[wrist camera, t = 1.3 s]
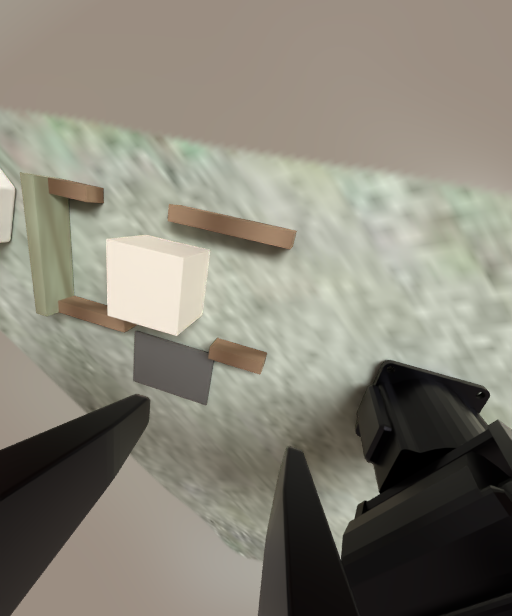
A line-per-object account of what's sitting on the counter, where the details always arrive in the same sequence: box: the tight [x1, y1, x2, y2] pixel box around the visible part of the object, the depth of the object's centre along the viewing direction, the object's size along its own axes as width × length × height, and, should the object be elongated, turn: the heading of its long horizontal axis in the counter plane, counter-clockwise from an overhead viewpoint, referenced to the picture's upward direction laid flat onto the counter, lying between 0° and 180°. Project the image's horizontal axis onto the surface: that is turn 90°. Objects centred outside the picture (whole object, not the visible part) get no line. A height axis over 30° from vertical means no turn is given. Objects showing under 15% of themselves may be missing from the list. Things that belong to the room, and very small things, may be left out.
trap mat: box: [133, 331, 214, 405], centre depth 22 cm, size 7×5×1 cm
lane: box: [20, 172, 297, 374], centre depth 19 cm, size 18×10×2 cm, turn 78°
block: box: [106, 235, 210, 336], centre depth 18 cm, size 5×5×4 cm
